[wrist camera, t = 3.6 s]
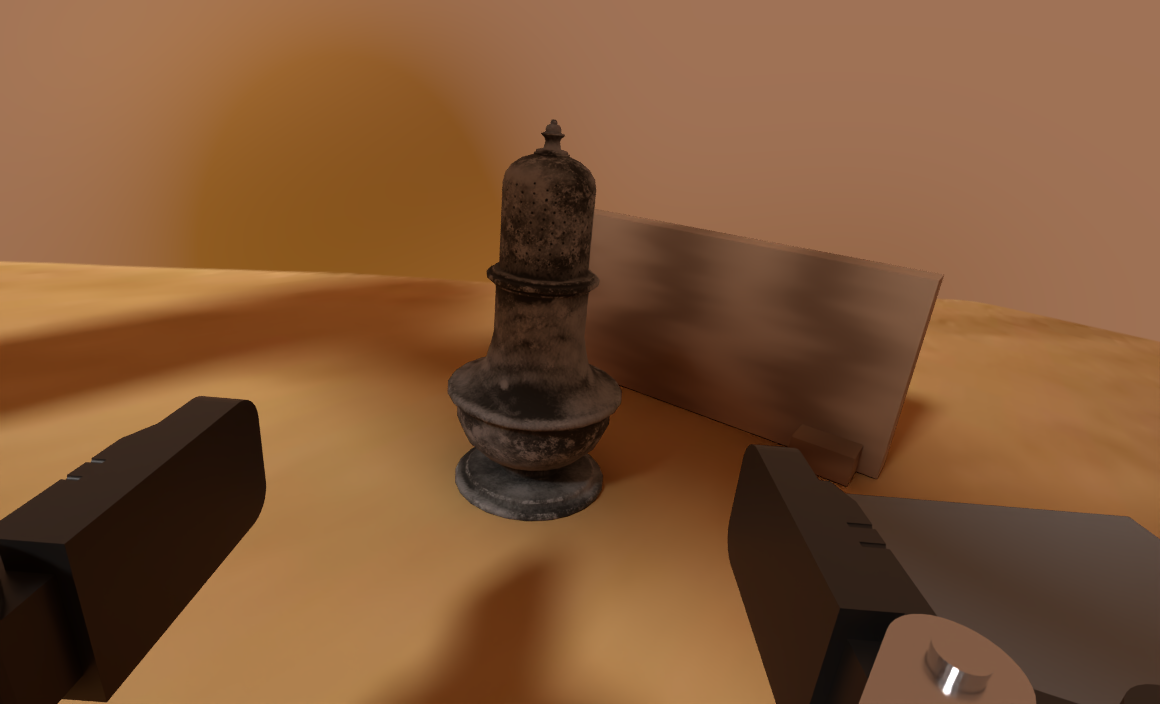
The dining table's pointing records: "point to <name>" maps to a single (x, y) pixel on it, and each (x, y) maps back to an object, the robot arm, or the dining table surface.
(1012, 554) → the dark mat
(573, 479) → the dark metal turned piece
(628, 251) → the walnut screen
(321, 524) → the dining table surface
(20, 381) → the dining table surface
